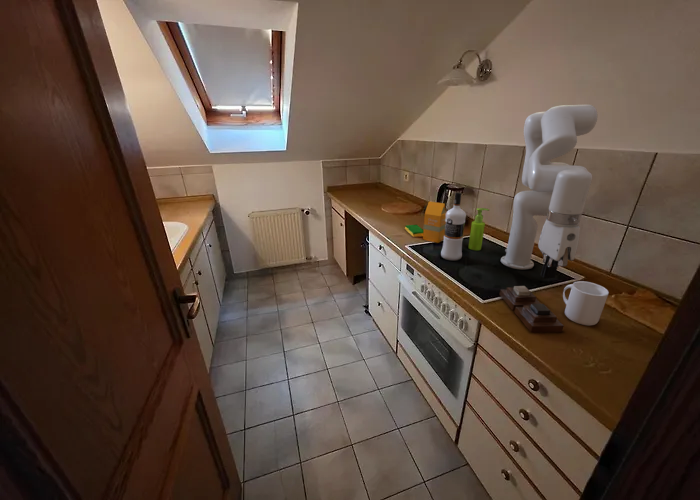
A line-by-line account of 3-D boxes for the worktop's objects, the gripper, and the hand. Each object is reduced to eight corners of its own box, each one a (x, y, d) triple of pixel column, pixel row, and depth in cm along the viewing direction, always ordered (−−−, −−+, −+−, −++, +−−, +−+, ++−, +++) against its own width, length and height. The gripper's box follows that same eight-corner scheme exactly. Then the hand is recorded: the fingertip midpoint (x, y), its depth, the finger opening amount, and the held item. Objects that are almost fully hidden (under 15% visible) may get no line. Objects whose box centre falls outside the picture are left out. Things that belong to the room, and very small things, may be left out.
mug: (570, 302, 101) (579, 274, 97) (605, 324, 90) (616, 293, 86) (548, 306, 99) (556, 277, 95) (581, 328, 88) (591, 297, 84)
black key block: (514, 312, 97) (516, 302, 95) (542, 312, 96) (545, 301, 95) (531, 332, 88) (533, 321, 86) (562, 331, 87) (565, 320, 86)
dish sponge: (416, 228, 176) (416, 224, 175) (425, 236, 163) (425, 232, 163) (404, 229, 175) (405, 225, 174) (413, 237, 162) (413, 233, 162)
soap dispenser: (485, 250, 143) (491, 210, 135) (470, 250, 144) (475, 210, 136) (480, 245, 149) (486, 206, 141) (466, 245, 149) (471, 206, 141)
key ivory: (513, 290, 102) (513, 286, 102) (523, 290, 102) (524, 285, 102) (518, 296, 99) (519, 291, 98) (529, 295, 99) (530, 291, 98)
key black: (530, 308, 92) (531, 304, 92) (542, 308, 92) (543, 303, 92) (536, 315, 89) (538, 310, 88) (549, 315, 89) (550, 310, 88)
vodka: (466, 258, 135) (474, 193, 124) (450, 262, 132) (457, 195, 120) (451, 251, 143) (458, 189, 131) (436, 255, 140) (442, 191, 128)
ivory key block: (499, 294, 107) (501, 284, 105) (524, 294, 107) (526, 284, 105) (512, 310, 98) (515, 300, 96) (540, 310, 97) (543, 299, 96)
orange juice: (429, 235, 164) (432, 199, 157) (444, 238, 159) (448, 202, 151) (422, 239, 159) (425, 202, 151) (438, 243, 154) (441, 205, 146)
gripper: (598, 226, 73) (577, 290, 81) (560, 209, 87) (545, 265, 94) (567, 227, 74) (549, 290, 81) (534, 210, 87) (521, 265, 95)
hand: (547, 276), depth 88 cm, fingers closed
